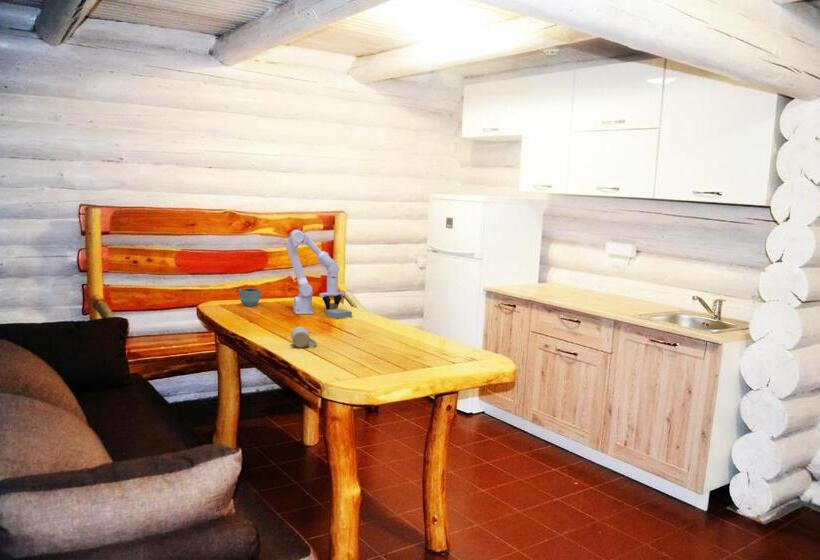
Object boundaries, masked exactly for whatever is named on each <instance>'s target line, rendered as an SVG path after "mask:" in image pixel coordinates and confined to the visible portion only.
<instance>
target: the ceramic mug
mask: <svg viewBox="0 0 820 560" xmlns="http://www.w3.org/2000/svg"><path fill="white" fill-rule="evenodd" d="M290 338H291V341H292V343H293V345H294V346H295V347H297V348H305V347H307V346H311V347H316V346H317V344H318V342H317V341H316V340H314V339H313V338H311V337H310V332H309V330H308V329H307V328H306V327H303V326H297V327H294V329H292V331H291V334H290Z"/></svg>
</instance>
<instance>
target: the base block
mask: <svg viewBox="0 0 820 560" xmlns="http://www.w3.org/2000/svg"><path fill="white" fill-rule="evenodd" d="M324 316H325V317H327V316H328V317H329V318H331V317H332V318H331V319H334V318H335V320H338V319H337V318H341V319H346V318H345V317H350V318H352V317H353V312H352V311H350V310H348V309H345V308H338V309H331V310H326V309H325V311H324Z"/></svg>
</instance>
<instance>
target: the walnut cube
mask: <svg viewBox="0 0 820 560" xmlns="http://www.w3.org/2000/svg"><path fill="white" fill-rule="evenodd" d="M331 309H339V305H338V304H335V303H334V302H333V303H332V302H330V309H329V310H331Z"/></svg>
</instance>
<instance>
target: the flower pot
mask: <svg viewBox="0 0 820 560" xmlns="http://www.w3.org/2000/svg"><path fill="white" fill-rule="evenodd" d="M238 293H239V299H240V302H241V304H242V305H243V306H244V307H249V308H251V307H256V306H257V305H258V303H260V300H261V295H262V294H261V293H262V290H261V289H257V288H251V287H250V288H249V287H248V288H243V289H242V288H241V289H238Z"/></svg>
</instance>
